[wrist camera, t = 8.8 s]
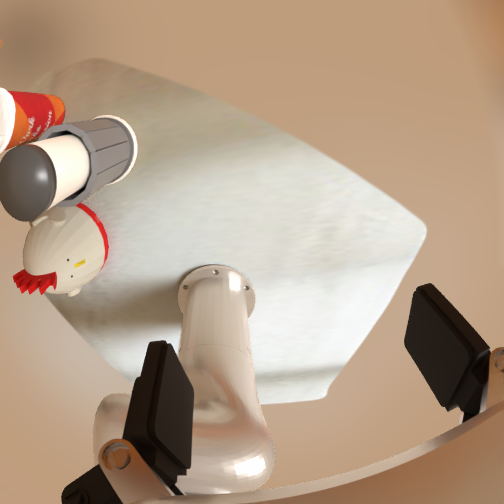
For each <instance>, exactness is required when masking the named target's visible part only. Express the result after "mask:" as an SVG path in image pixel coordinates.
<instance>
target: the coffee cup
mask: <svg viewBox="0 0 504 504" xmlns="http://www.w3.org/2000/svg"><path fill="white" fill-rule="evenodd" d="M64 116H65V107H64V103H63V102H62V100H61V99H60V98H59V97H56V96H53V95H47V94H38V93H29V92H16V91H6V90H5V89H3V88H0V154H1V153H2V152H3V151H4V150H7V149H9V148H12V147H15V146H17V145H20V144H23V143H25V142H28V141H31V140H34V139H37V138H40V137H41V136H42V135H43V134H44V133H45V132H46V131H47V130H48V129H49V128H50V127H51V126H56V125H61V124H62V122H63V120H64Z"/></svg>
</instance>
